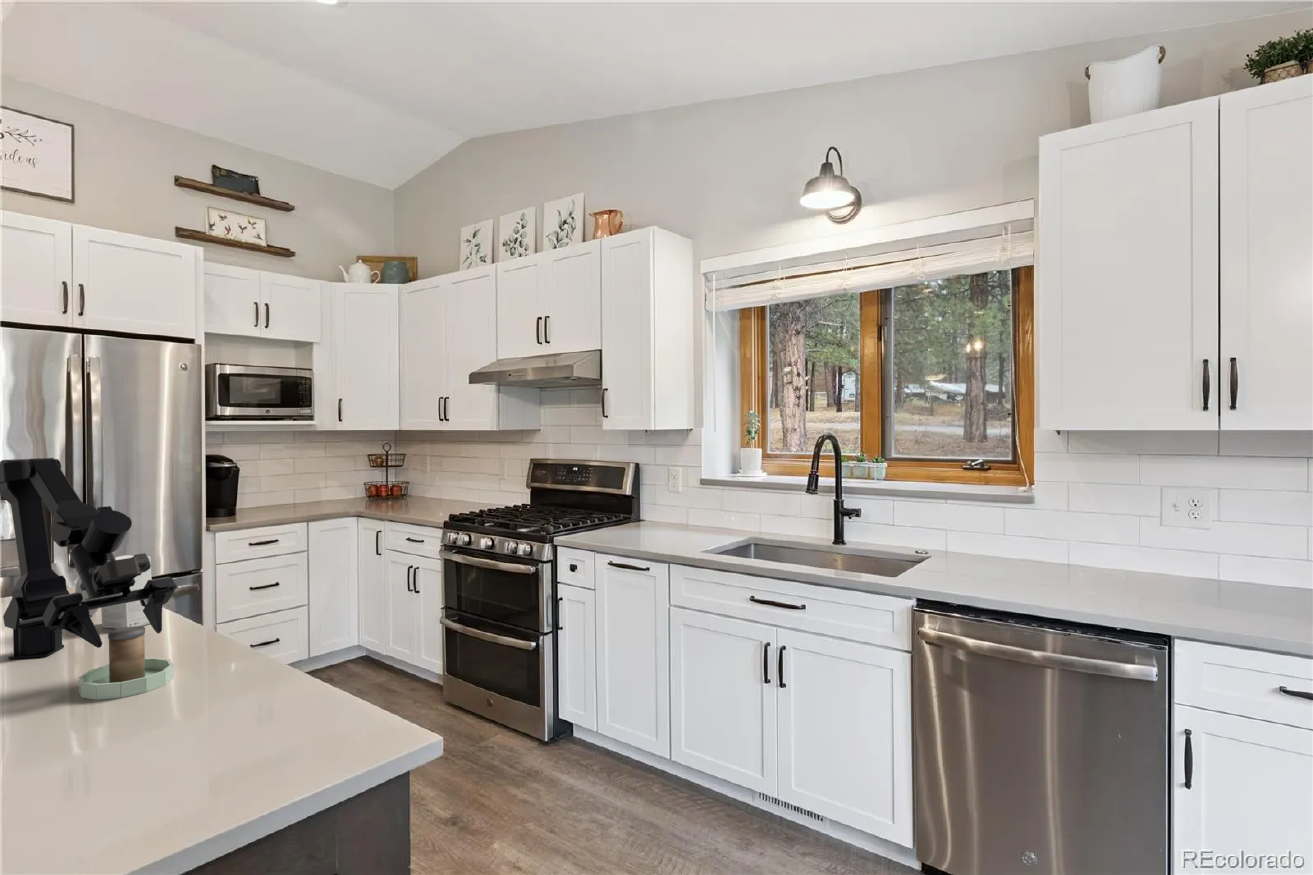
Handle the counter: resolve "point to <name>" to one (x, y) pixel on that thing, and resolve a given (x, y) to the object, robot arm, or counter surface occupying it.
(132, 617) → the skincare box
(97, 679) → the sage green dish
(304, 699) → the counter surface
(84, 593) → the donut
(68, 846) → the counter surface
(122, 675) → the walnut spice jar
